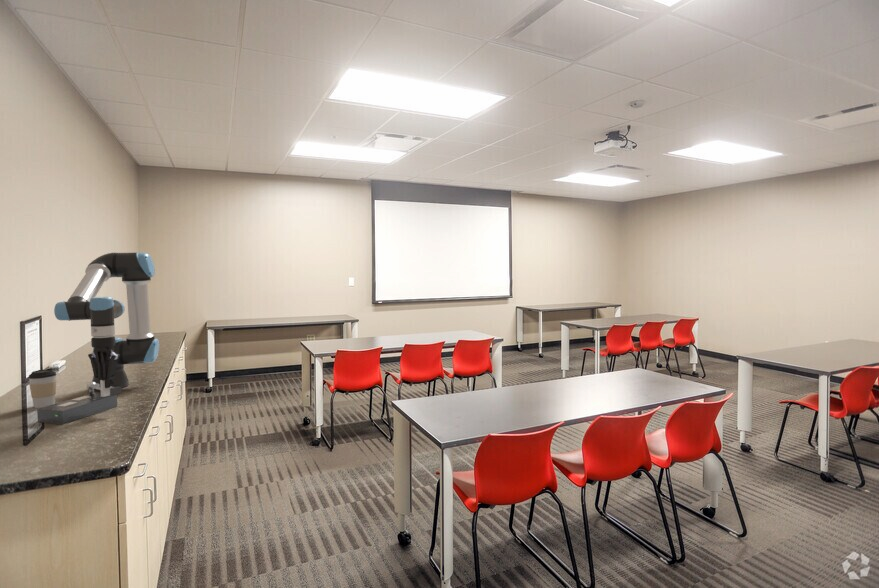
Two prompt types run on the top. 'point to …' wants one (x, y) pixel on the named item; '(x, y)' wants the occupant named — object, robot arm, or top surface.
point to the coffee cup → (43, 387)
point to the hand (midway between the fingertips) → (105, 395)
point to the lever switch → (76, 408)
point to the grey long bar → (97, 386)
